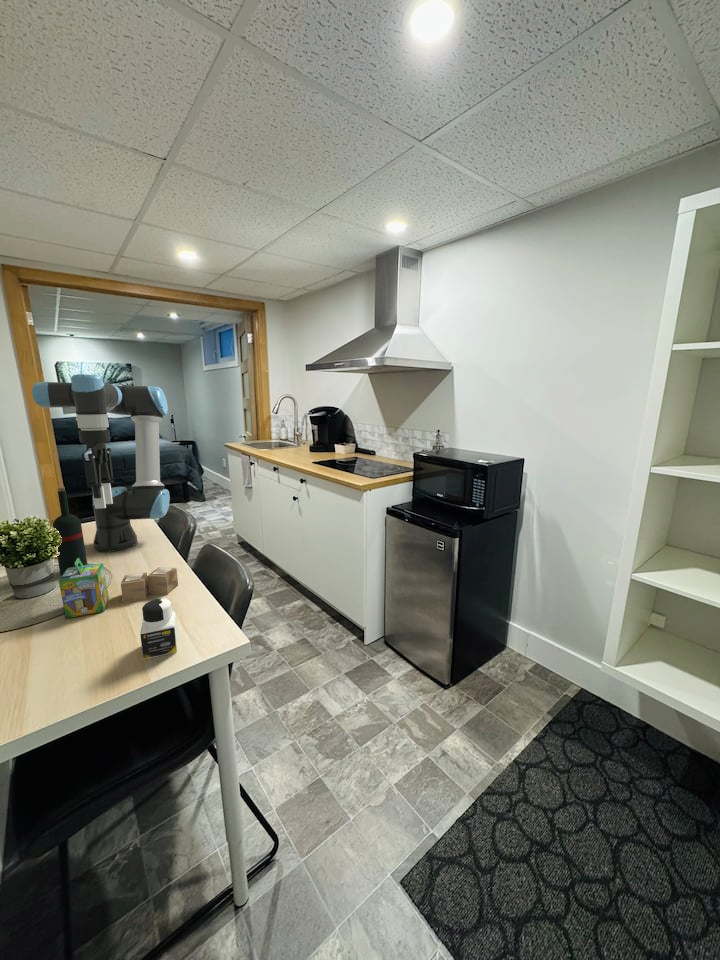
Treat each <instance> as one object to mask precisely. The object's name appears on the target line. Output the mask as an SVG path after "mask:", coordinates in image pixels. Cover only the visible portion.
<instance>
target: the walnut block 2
mask: <svg viewBox="0 0 720 960" xmlns="http://www.w3.org/2000/svg"><path fill="white" fill-rule="evenodd" d="M177 569H178V568H176V567H157V568H156V569H154V570H153V571H152V572H150V573H149V574H147V579H148V588H149V591H148V594H149V595H166V596H167V595H168V596H169V594H170V593H171V592H172V591H174V589H176V588H177V587H178V586H179V580H178V578H179V577H178V570H177Z"/></svg>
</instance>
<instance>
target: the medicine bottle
mask: <svg viewBox="0 0 720 960" xmlns="http://www.w3.org/2000/svg"><path fill="white" fill-rule="evenodd" d="M141 611H142V622H141V627H140V631H139V632H140V633H139V635H140V643H141V652H142V653H141V654H142V659H143V660H145V661H146V660H149V659H154V658H158V657H162V656H167V655H171V654H176V653H177V652H178V639H179V637H178V626H177V617H176V615H177V614H176V611H172V602H171V600H170V599H168V598H155V599H152V600H149V601H147V602H146V603H145V604H143V606H142V609H141Z"/></svg>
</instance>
